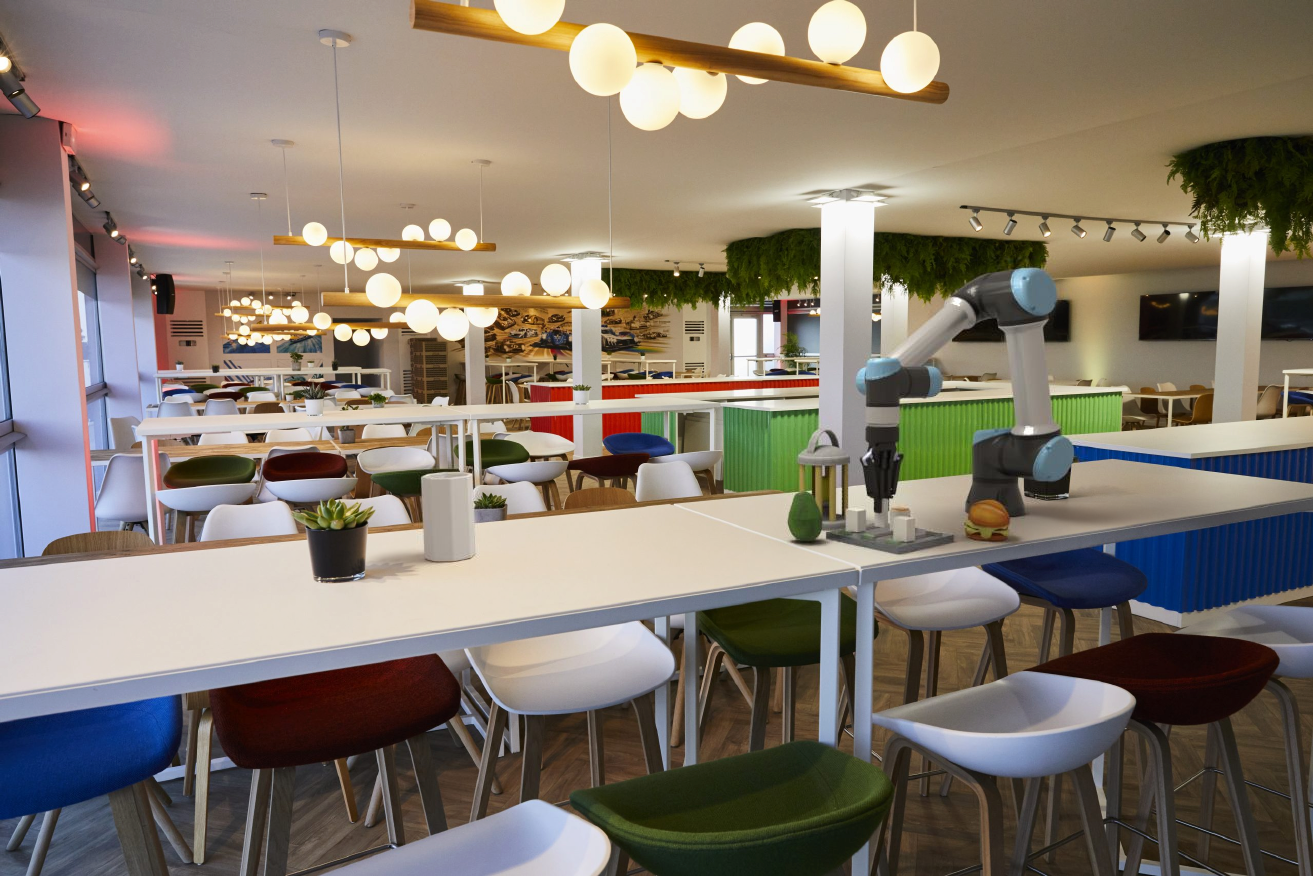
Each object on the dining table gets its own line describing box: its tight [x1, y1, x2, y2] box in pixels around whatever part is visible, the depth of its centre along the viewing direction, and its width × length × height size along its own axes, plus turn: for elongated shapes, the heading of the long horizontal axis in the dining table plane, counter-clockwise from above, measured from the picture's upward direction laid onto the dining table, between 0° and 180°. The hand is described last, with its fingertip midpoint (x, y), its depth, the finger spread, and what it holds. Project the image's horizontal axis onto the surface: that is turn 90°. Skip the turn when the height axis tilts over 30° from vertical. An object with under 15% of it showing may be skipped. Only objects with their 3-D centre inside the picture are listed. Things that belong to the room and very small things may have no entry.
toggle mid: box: [889, 506, 911, 531], centre depth 195 cm, size 3×4×5 cm
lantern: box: [796, 428, 851, 532], centre depth 211 cm, size 14×14×25 cm
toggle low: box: [846, 507, 867, 532], centre depth 196 cm, size 3×4×5 cm
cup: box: [420, 471, 477, 563], centre depth 184 cm, size 11×11×18 cm
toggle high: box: [893, 516, 916, 542], centre depth 185 cm, size 3×4×5 cm
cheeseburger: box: [963, 500, 1011, 542], centre depth 193 cm, size 10×11×10 cm
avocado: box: [787, 490, 823, 543], centre depth 193 cm, size 8×8×12 cm
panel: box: [825, 522, 955, 555], centre depth 193 cm, size 20×21×2 cm
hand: (881, 526), depth 191 cm, fingers closed
